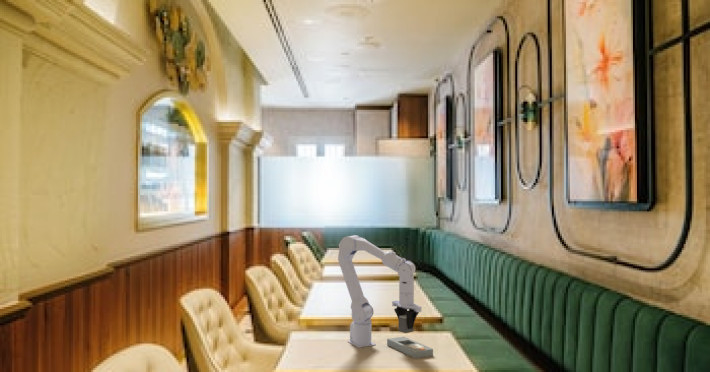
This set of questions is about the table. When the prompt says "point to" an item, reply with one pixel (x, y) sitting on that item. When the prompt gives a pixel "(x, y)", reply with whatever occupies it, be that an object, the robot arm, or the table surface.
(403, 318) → the plug block
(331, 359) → the table surface
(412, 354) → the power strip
